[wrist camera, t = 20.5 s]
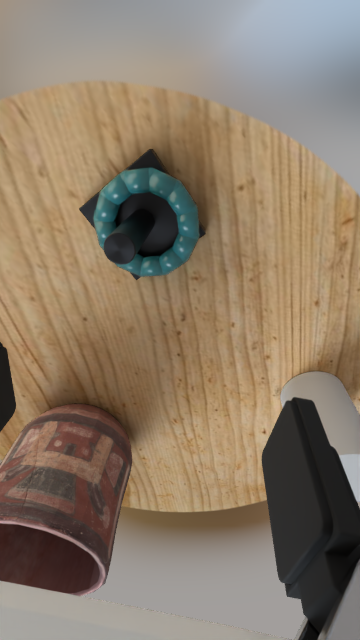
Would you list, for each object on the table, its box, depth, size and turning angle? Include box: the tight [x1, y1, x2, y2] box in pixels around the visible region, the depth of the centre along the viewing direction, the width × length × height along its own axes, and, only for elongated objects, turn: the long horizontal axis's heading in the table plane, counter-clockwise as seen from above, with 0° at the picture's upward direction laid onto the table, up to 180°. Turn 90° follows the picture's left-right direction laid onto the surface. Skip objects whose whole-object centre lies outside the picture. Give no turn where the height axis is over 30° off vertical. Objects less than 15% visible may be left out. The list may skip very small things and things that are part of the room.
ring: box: [93, 167, 200, 277], centre depth 29 cm, size 10×10×2 cm
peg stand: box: [79, 149, 206, 280], centre depth 27 cm, size 9×9×10 cm
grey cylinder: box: [281, 371, 360, 502], centre depth 36 cm, size 8×8×12 cm
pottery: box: [0, 404, 132, 596], centre depth 41 cm, size 18×18×18 cm
